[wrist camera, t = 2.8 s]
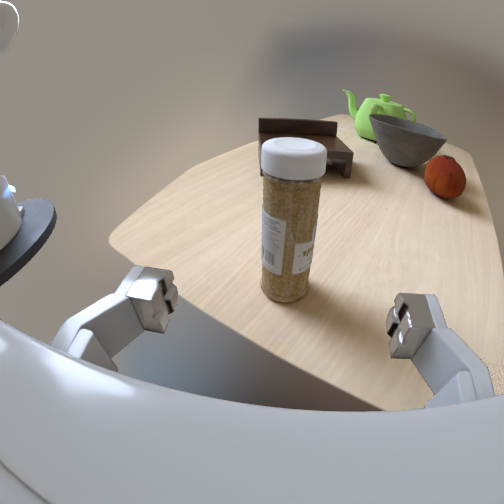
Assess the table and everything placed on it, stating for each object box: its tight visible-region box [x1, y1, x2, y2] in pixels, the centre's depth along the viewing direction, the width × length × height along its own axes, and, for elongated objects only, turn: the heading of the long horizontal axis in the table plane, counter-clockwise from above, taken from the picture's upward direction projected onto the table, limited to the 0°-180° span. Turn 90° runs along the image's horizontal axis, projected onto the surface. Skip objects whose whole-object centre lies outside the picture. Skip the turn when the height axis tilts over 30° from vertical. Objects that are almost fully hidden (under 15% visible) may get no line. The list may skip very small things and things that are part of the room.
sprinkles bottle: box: [260, 137, 327, 303], centre depth 22 cm, size 5×5×14 cm
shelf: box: [259, 118, 353, 178], centre depth 49 cm, size 16×12×8 cm
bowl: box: [369, 114, 447, 167], centre depth 53 cm, size 19×19×10 cm
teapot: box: [342, 89, 416, 141], centre depth 70 cm, size 19×20×14 cm
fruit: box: [424, 155, 466, 199], centre depth 42 cm, size 9×9×8 cm
